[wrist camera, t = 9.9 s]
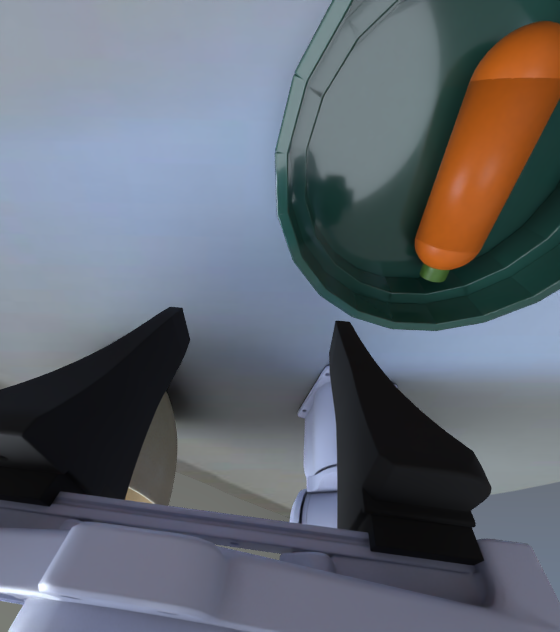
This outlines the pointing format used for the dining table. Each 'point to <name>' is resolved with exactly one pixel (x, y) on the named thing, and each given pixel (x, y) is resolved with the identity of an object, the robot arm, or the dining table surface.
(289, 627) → the robot arm
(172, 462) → the beige deep bowl
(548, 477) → the dining table surface
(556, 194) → the green glass bowl
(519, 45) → the carrot
